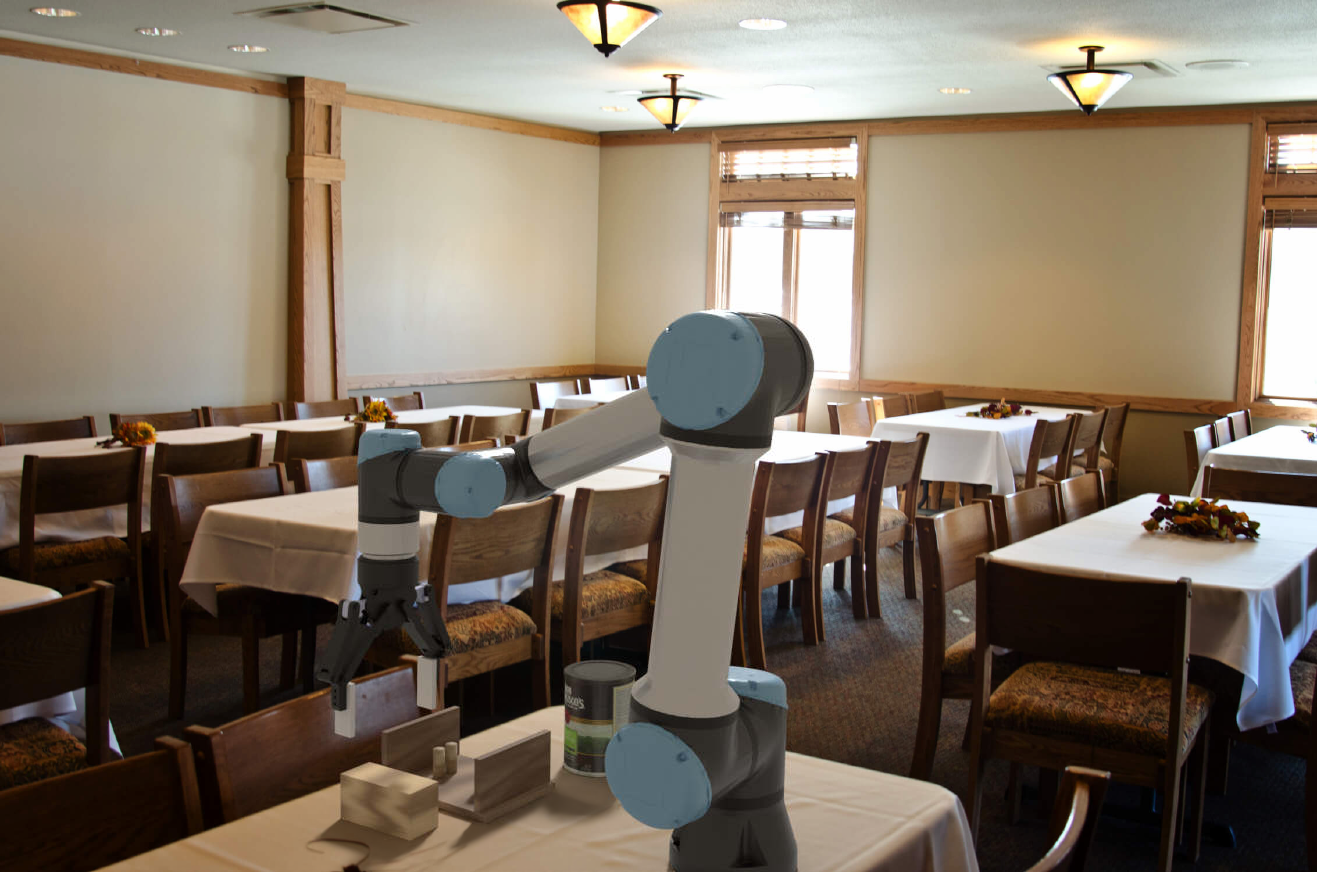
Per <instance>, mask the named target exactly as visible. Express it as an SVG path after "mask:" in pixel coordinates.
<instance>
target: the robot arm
mask: <svg viewBox="0 0 1317 872" xmlns="http://www.w3.org/2000/svg"><path fill="white" fill-rule="evenodd" d="M645 369H646V370H645V381H646V382H645V383H646V386H644V387H641V388H639V389H636V390H635V391H631V392H630V393H627V394H625V395H623V396H621V397H618V398H616V399H613V400H611V401H609V402H606V403H604V404H602V405H600V406H597V407H595V408H593V409H590V410H588V411H585V412H584V413H581V414H579V415H577V416H574V417H572V418H570V419H567V420H565V421H563V422H560V423H559V424H556V425H552V426H551V427H548V428H546V429H543V430H542V431H540V432H537V433H535V434H533V435H531V436H529V437H526V438H523V439H521V440H519V441H517V442H514V443H511V444H508V445H507V444H506V445H502V446H496V447H492V446H491V447H487V448H486V447H485V448H475V449H467V450H458V451H457V450H456V451H447V450H446V451H444V450H432V449H431V450H430V449H425V448H423V445H422V443H421V441H422V440H421V436H420V433H419V432H418V431H417V430H412V429H404V428H402V429H401V428H376V429H370V430H366V431H364V432H362V434H361V435H360V437H359V441H358V452H357V454H358V455H357V462H356V467H357V512H358V513H357V550H358V551H359V553H360V555H359V556H358V557H357V562H356V563H357V565H356V566H357V569H356V570H357V571H356V572H357V574H356V575H357V577H356V578H357V581H356V582H357V584H358V585H359V588H360V596H359V598H358V600H357V599H356V600H350V599H346V598H342V599H340V600H339V602H338V611H337V618H336V621H335V624H334V626H333V629H332V631H331V635H330V637H329V640H328V643H327V645H326V648H325V651H324V654H323V656H322V660H321V661H320V665H319V667H318V670H317V672H316V679H317V680H319V681H323V682H326V683H330V687H331V688H330V689H331V692H330V693H331V694H330V695H331V696H330V697H331V698H330V699H331V701H330V703H331V705H330V706H331V708H332V710H334V734H337V735H340V736H343V737H346V738H349V739H351V738H354V737H355V736H356V682H351V680H352V678H353V677H354V675H355V673H356V671H357V670H358V667H359V665H360V664H361V662H362V660H363V659H364V658H365V655H366V654H367V652H368V650H369V649H370V647H371V645H372V643H373V641H374V640H375V639H376V638H378V637H379V636H380V634H381V633H382V631H384V632H386V631H388V630H390V629H392V628H400V627H402V628H403V629H404V630H405V632H406V633H407V634H408V635H409V637H410V638H411V639H412V641H413V643H414V644H415V645H416V646H417V647H418V649H419V650H420V652H421V653H422V654H423V655H420V656H417V666H416V667H417V668H416V669H417V671H416V673H417V677H416V680H417V683H416V685H417V687H416V690H417V691H416V692H417V693H416V706H417V707H421V708H425V709H427V710H432V711H433V710H436V709H437V681H439V677H440V659H441V660H443V659H445V658H446V657H447V651H449V650H451V649H452V647H453V644H452V640H451V638H450V634H449V633H448V632H449V631H448V629H447V628H446V627H447V626H446V625H445V622H444V620H443V617H442V614H441V611H440V609H439V607H438V604H437V602H436V591H435V586H434V585H432V584H429V583H425V582H419V581H420V557H419V556H418V554H417V553H418V551H420V547H421V546H420V545H421V544H420V539H421V537H420V536H421V535H420V534H421V533H420V532H421V530H420V528H421V525H420V524H421V523H420V522H421V521H420V519H421V518H420V517H421V512H425V513H426V512H427V513H433V514H437V515H438V514H439V515H445V516H452V517H457V519H467V518H473V519H485V518H488V517H491V516H492V515H493V514H494V513H495V511H496V510H498V509H499V508H500V507H503V506H504V507H505V506H510V505H516V504H520V503H521V504H522V503H528V504H529V503H534V502H536V501H537V502H538V501H540V500H543V499H546V498H548V497H550V496H552V495H554V493H556V491H557V490H558V489H560V488H563V487H565V486H569V485H571V484H574V483H576V482H579V481H581V480H583V479H587V478H589V477H591V476H595V475H596V474H599V473H601V472H604V471H607V470H609V469H612V468H614V467H617V466H619V465H622V464H624V463H627V462H630V461H632V460H635V459H637V458H640V457H642V456H646V455H647V454H650V453H653V452H655V451H657V450H661V449H664V448H665V447H667V448H668V450H669V451H670V453H671V459H670V469H669V479H668V486H667V497H666V506H665V514H664V521H663V522H664V523H663V532H662V540H661V541H662V542H661V549H660V551H661V552H660V557H659V558H660V559H659V569H658V577H657V588H656V594H655V595H656V596H655V604H654V612H653V621H652V630H651V631H652V632H651V639H650V640H651V641H650V648H649V657H648V658H649V659H648V665H647V667H648V668H647V672H646V674H644V675H643V676H642V677H640V678H639V679H638V680H636V681H635V683H634V684H633V686H632V690H631V698H630V707H629V716H628V724H626V725H624V726H623V727H622V728H621V729H619V730H618V731H617V732H616V733H615V735H614V736H613V737H612V739H611V740H610V742H609V744H608V746H607V749H606V753H605V773H606V777H605V778H606V780H607V783H608V787H609V789H610V791H611V793H612V795H613V796H614V797H615V798H616V799H618V801H619V802H620V806H621V807H622V809H623V810H624V811H625V812H626V813H627V814H628V815H630V816H631V817H632V818H633V819H635V820H636V821H638V822H639V823H641V824H643V825H645V826H647V827H650V828H653V829H658V830H673V831H672V833H671V835H670V840H669V846H668V847H669V848H668V849H669V850H668V851H669V852H668V861H669V865H670V867H671V869H672V870H673V871H674V872H796V871H797V868H798V854H799V853H798V844H797V840H796V838H795V834H794V830H793V826H792V823H791V820H790V817H789V813H788V810H787V807H786V803H785V776H786V750H787V749H786V748H787V746H786V745H787V743H786V742H787V720H788V719H787V718H788V710H789V705H788V703H787V702H788V701H787V700H788V699H787V687H786V683H785V682H784V681H783V679H782V678H781V677H780V676H778V675H777V674H774V673H771V672H768V671H765V670H760V669H754V668H748V667H742V666H733V665H731V659H732V650H733V649H732V648H733V641H734V634H735V633H734V632H735V624H736V617H737V609H738V601H739V600H738V599H739V593H740V592H739V590H740V583H741V576H742V567H743V566H742V565H743V560H744V552H745V551H744V550H745V543H746V536H747V534H746V533H747V527H748V517H749V511H750V510H749V509H750V501H751V494H752V486H753V477H754V476H753V475H754V470H755V464H756V462H757V460H759V459H760V458H761V457H763V456H764V455H766V453H768V452H769V451H770V450H772V449H771V448H772V444H773V443H772V442H773V434H774V429H775V428H774V427H775V420H776V418H779V417H782V416H784V415H785V414H788V413H789V412H791V411H792V410H794V409H795V408H796V407H797V406H799V404H800V403H801V402H802V401H803V400H804V398H806V395H807V394H808V392H809V390H810V388H811V385H812V382H813V379H814V375H815V374H814V373H815V360H814V354H813V350H812V348H811V346H810V343H809V340H808V339H807V337H806V336H805V334H804V333H803V331H802V330H801V329H800V328H798V327H797V326H796V325H795V324H794V323H792V322H791V321H789V320H788V319H787V318H784V317H781V316H780V315H779V316H778V315H776V314H773V313H767V312H749V311H737V310H736V311H735V310H729V309H725V308H723V309H712V308H711V309H707V310H702V311H693V312H691V313H688V314H687V313H686V314H685V315H683V316H680V317H679V318H677V319H675V320H674V321H673V322H671V323H670V324H669V325H668V326H667V327H666V328H664V329H663V331H661V333H660V334H659V336H658V337H657V338H656V340H655V342H654V343H653V345H652V347H651V350H650V352H649V354H648V359H647V361H646V368H645ZM415 604H416V607H417V609H418V612H419V614H418V613H417V611H416V610H415V608H414V605H415ZM421 620H422V621H421ZM367 624H368V625H367Z"/></svg>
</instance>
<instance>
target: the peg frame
mask: <svg viewBox="0 0 1317 872" xmlns="http://www.w3.org/2000/svg"><path fill="white" fill-rule="evenodd" d="M460 708H461V707H460V706H457V705H453V706H451V707H448V708H445V709H442V710H439V711H436V712H433V713H431V714H427V715H424V716H421V717H419V718H416V719H413V720H410V721H408V722H405V723H401V724H399V725H396V726H394V727H393V726H392V727H390V728H388V729H385V730H382V731H381V766H385V767H389V768H392V769H396V770H399V771H403V772H406V773H410V774H413V775H417V776H420V777H424V778H428V779H431V780H435V781H438V809H442V810H444V811H447V812H450V813H454V814H457V815H460V816H463V817H466V818H469V819H472V820H474V821H477V822H481V823H484V824H487V823H489V822H491V821H493V820H496V819H498V818H500V817H501V816H503V815H506V814H509V813H510V812H513V811H514V810H517V809H519V808H520V807H523V806H525V805H527V804H529V803H530V802H531V803H532V801H534V800H538V799H539V798H541V797H543V796H546V795H548V794H550V793H551V792H554V791H556V790H557V781H553V780H551V767H552V766H551V759H552V758H551V757H552V756H551V755H552V752H551V747H552V746H551V745H552V742H551V741H552V730H550V729H546V728H544V729H542V730H540V731H537V732H535V733H533V734H530V735H528V736H526V737H524V738H521V739H518V740H516V741H513V742H511V743H508V744H507V745H504V746H500V747H498V748H497V749H494V750H492V751H489V752H487V753H484V754H481V755H479V756H477V757H475V758H473V757H470V756H467V755H463V754H461V753H460V750H461V749H460V743H461V742H460V738H461V737H460V736H461V735H460V734H461V733H460V732H461V731H460V729H461V728H460V725H461V722H460V719H461V716H460V715H461V714H460V713H461V709H460Z"/></svg>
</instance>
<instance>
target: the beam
mask: <svg viewBox="0 0 1317 872" xmlns="http://www.w3.org/2000/svg"><path fill="white" fill-rule="evenodd" d="M339 780H340V788H339V789H340V819H341V818H344V819H347V820H349V821H348V822H351V821H352V822H351V823H354V822H355V823H354V824H357V823H358V825H360V824H362V825H361V826H363V825H364V826H363V827H366V826H367V828H369V827H371V828H370V829H372V828H374V829H373V830H376V831H378V830H379V832H382V833H385V834H388V835H391V836H393V837H394V836H395V837H398V838H401V839H402V840H403V839H404V840H407V841H410V842H411V841H413V840H414V839H416V838H418V837H421V836H423V835H425V834H426V833H428V832H429V833H430V832H431V831H432V830H434V829H437V828H439V808H438V781H435V780H431V779H428V778H424V777H420V776H417V775H413V774H410V773H406V772H403V771H399V770H396V769H392V768H389V767H385V766H382V764H378V763H374V762H371V761H369V762H367V763H366V762H365V763H363V764H361V765H358V766H357V767H353V768H351V769H349V770H347V771H344V772H341V773H340V779H339ZM344 819H343V820H344ZM347 820H346V821H347Z"/></svg>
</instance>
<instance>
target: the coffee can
mask: <svg viewBox="0 0 1317 872" xmlns="http://www.w3.org/2000/svg"><path fill="white" fill-rule="evenodd" d="M563 673H564V674H563V675H564V726H563V727H564V728H563V729H564V731H563V733H564V735H563V738H564V739H563V763H562V765H563V768H564V769H565V770H566V771H568V772H569V773H571V774H574V775H577V776H581V777H588V778H598V777H599V778H606V773H605V753H606V749H607V746H608V744H609V742H610V740H611V739H612V737H613V736H614V735H615V733H616V732H617V731H618V730H619V729H621V728H622V727H623V726H624V725H626V724H628V716H629V707H630V698H631V690H632V686H633V684H634V683H635V682H636V681H635V679H636V673H637V670H636V668H635V667H634V666H632V665H631V664H628V663H625V662H621V661H616V660H607V659H605V660H604V659H594V660H593V659H591V660H581V661H578V662H574V663H571V664H569V665H567V666H566V667H564V669H563Z"/></svg>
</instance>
